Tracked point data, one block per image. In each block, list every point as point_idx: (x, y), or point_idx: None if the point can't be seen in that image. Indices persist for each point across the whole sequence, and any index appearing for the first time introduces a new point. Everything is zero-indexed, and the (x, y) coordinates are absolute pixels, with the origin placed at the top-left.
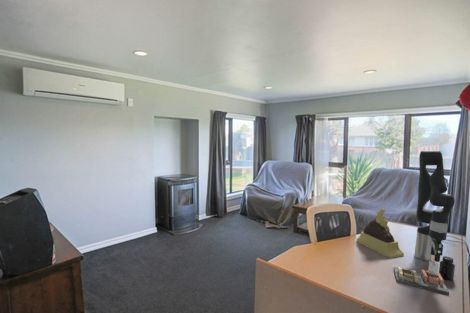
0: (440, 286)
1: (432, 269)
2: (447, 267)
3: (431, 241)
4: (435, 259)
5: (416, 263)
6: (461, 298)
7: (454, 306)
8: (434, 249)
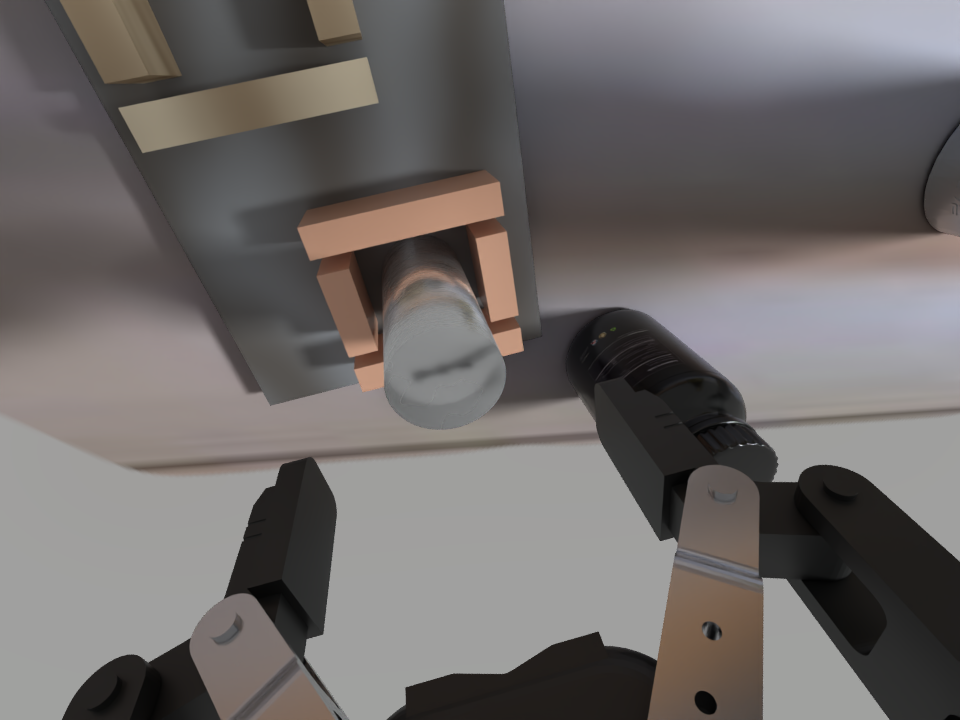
0: (327, 346)
1: (383, 333)
2: None
3: (909, 620)
4: (279, 493)
5: (830, 104)
6: (303, 450)
7: (87, 431)
8: (244, 712)
